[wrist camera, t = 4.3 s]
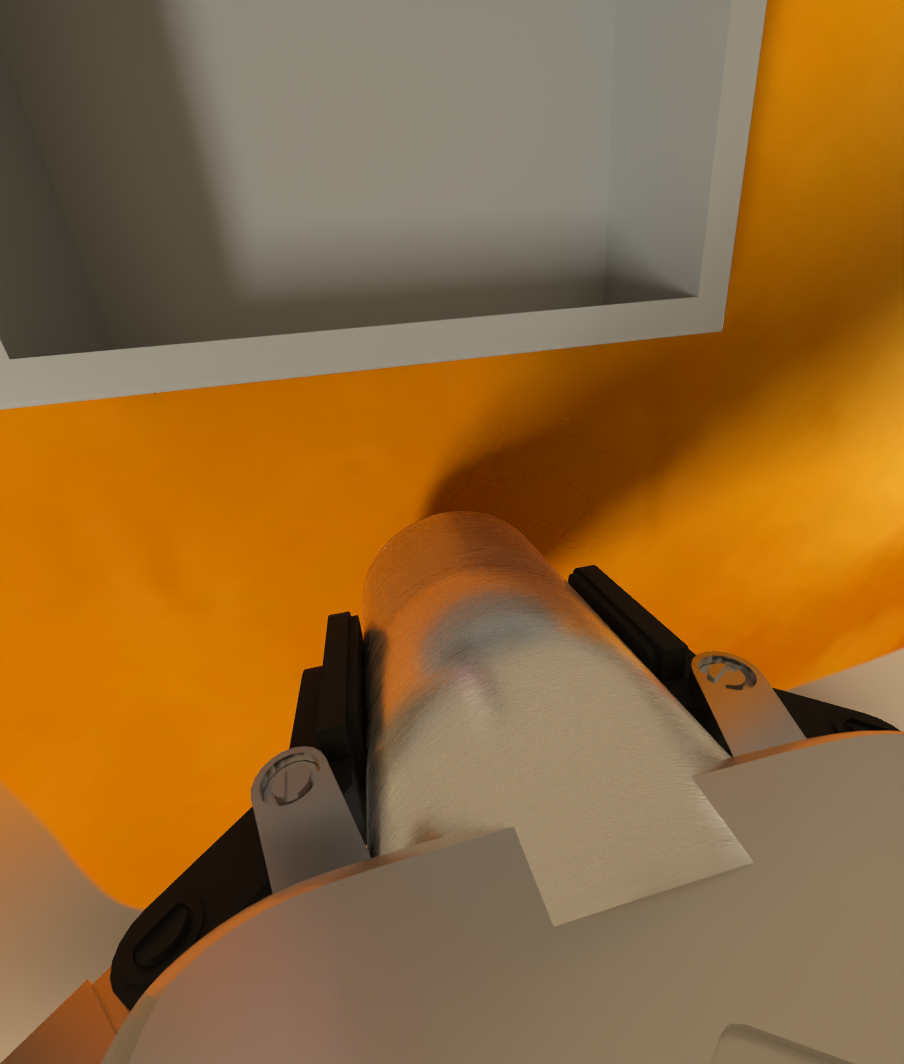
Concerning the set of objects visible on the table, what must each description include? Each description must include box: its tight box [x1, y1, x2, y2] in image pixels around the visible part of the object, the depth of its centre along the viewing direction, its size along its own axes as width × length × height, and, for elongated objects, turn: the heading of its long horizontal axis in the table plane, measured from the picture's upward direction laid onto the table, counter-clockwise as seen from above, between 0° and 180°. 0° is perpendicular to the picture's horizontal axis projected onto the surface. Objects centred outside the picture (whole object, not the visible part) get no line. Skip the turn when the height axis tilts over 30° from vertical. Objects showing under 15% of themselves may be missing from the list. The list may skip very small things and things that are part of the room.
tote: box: [0, 0, 767, 410], centre depth 9 cm, size 16×11×5 cm
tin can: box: [363, 511, 754, 927], centre depth 9 cm, size 6×6×10 cm
